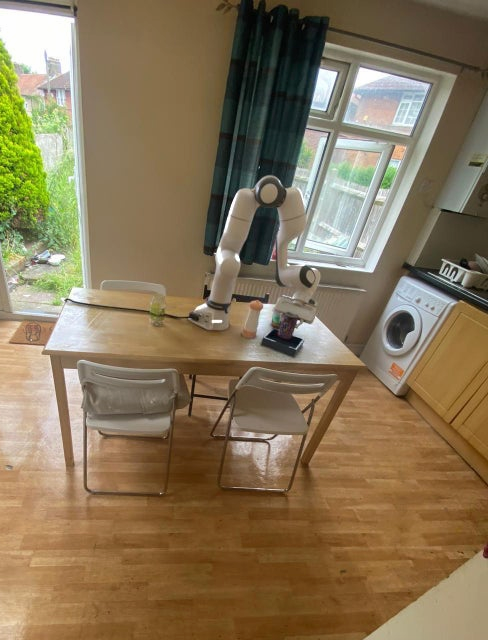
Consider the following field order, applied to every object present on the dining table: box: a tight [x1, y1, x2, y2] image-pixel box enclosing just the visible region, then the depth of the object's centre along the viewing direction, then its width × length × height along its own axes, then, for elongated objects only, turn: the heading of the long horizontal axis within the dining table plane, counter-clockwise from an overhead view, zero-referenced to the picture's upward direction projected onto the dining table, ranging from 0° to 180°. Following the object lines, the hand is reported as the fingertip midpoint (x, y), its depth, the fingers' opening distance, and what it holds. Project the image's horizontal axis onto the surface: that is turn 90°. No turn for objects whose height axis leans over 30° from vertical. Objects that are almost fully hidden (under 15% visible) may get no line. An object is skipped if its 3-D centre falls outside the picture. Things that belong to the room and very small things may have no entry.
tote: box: [260, 327, 306, 358], centre depth 170 cm, size 18×15×4 cm
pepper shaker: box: [241, 299, 264, 339], centre depth 170 cm, size 7×7×19 cm
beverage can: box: [278, 312, 299, 339], centre depth 164 cm, size 7×7×12 cm
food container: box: [270, 307, 284, 330], centre depth 184 cm, size 12×6×10 cm, turn 62°
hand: (288, 325), depth 163 cm, fingers closed on beverage can, 7 cm apart
